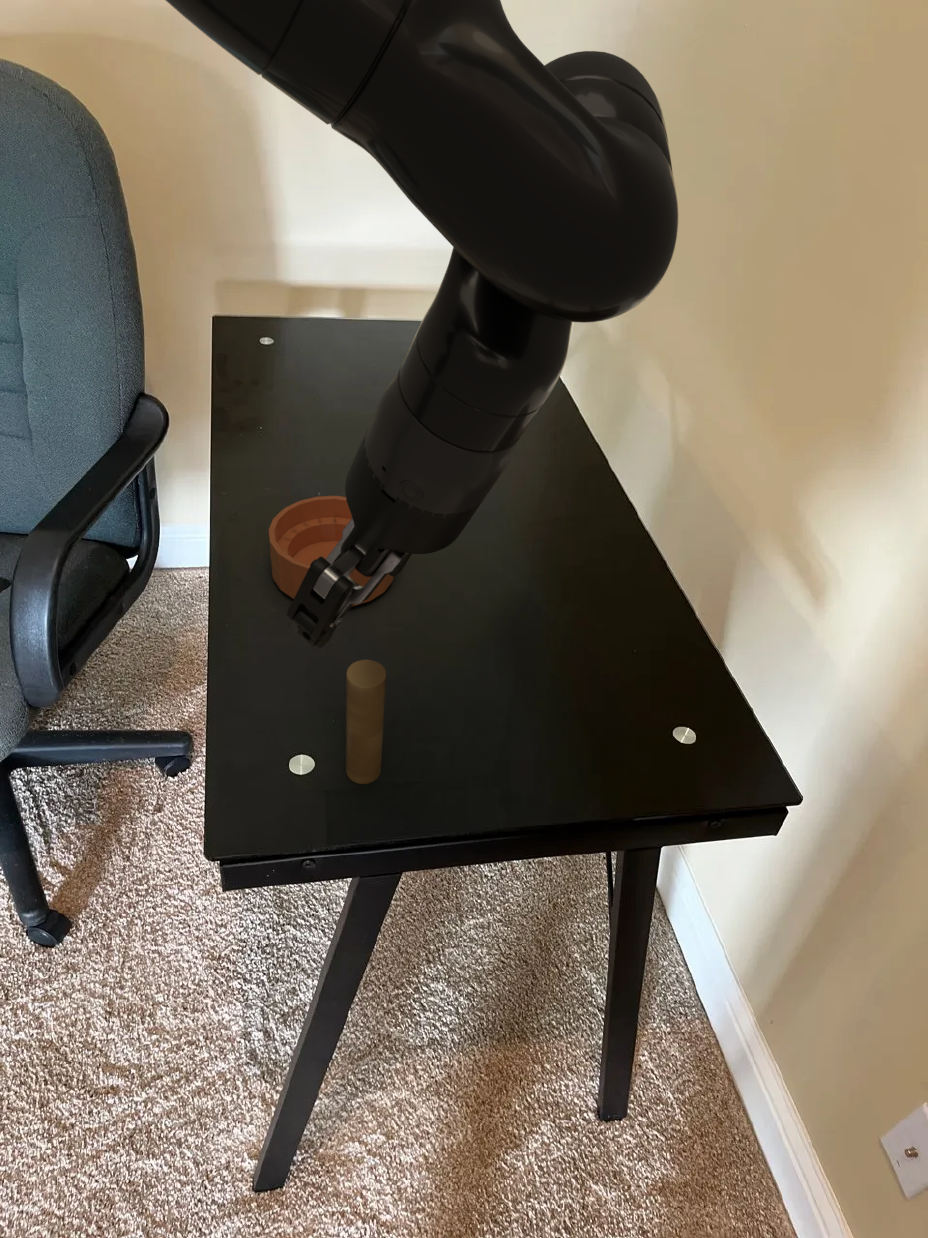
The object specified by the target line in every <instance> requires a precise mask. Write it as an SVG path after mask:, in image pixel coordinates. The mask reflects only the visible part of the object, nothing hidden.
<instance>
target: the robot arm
mask: <svg viewBox="0 0 928 1238" xmlns="http://www.w3.org/2000/svg"><path fill="white" fill-rule="evenodd" d="M164 1H165V2H166V3H167V4H169V5H170V6H171V7H172V8H173V9H174V10H175V11H176V12H178V13H179V14H180V15H181V16H182V17H183V18H185V19H186V20H187V21H188V22H190V23H191V24H192V25H193V26H194V27H196V28H197V29H198V30H199V31H200V32H201V33H203V34H204V35H205V36H206V37H207V38H209V39H210V40H211V41H213V43H216V45H218V46H219V47H221V48H222V49H223V50H224V51H225V52H227V53H228V54H230V56H232V57H233V58H234V59H236V60H237V61H238V62H240V63H241V64H243V65H244V66H245V67H247V68H248V69H249V70H250V71H252V72H253V73H255V74H256V75H257V76H261V78H262V79H264V81H266V82H268V83H269V84H271V85H272V86H273V87H274V88H276V89H277V90H279V92H281V93H282V94H284V95H285V96H287V97H288V98H289V99H291V100H292V101H293V102H295V103H296V104H298V105H300V106H301V107H302V108H304V109H305V110H306V111H308V112H309V113H311V114H312V115H313V116H315V117H316V118H317V119H319V120H320V121H322V122H323V123H324V124H326V125H330V127H331V129H332V130H333V131H335V132H337V133H338V134H340V135H341V136H342V137H344V138H345V139H347V140H349V141H351V142H352V143H354V144H355V145H357V146H358V147H360V148H361V149H362V150H364V151H365V152H366V153H367V154H369V155H370V156H371V158H373V159H374V160H375V161H376V162H377V163H378V165H379V166H380V167H381V168H382V169H383V170H384V171H385V173H386V174H387V175H388V177H390V178H391V180H392V181H393V182H394V183H395V185H396V186H397V187H398V188H399V190H400V191H401V192H402V193H403V194H404V196H405V197H406V198H407V199H408V200H409V202H410V203H411V204H412V205H413V206H414V207H415V208H416V209H417V210H418V211H419V212H420V213H421V214H422V215H423V217H424V218H425V219H426V220H427V221H428V222H429V223H430V224H431V225H432V226H433V227H434V228H435V229H436V230H437V232H439V234H441V235H442V237H443V238H444V239H445V240H446V241H447V242H448V243H449V244H450V245H451V246H452V250H451V254H450V257H449V261H448V265H447V267H446V270H445V272H444V274H443V277H442V280H441V282H440V284H439V287H438V290H437V291H436V294H435V295H434V298H433V301H432V302H431V304H430V305H429V306H428V309H427V311H426V312H425V314H424V316H423V318H422V320H421V322H420V324H419V326H418V328H417V331H416V333H415V335H414V337H413V339H412V341H411V343H410V346H409V348H408V350H407V352H406V353H405V357H404V359H403V361H402V363H401V366H400V368H399V370H397V372H396V374H395V376H394V377H393V379H392V380H391V381H390V382H389V384H388V386H387V387H386V389H385V391H384V392H383V394H382V396H381V398H380V400H379V402H378V404H377V406H376V409H375V411H374V413H373V415H372V418H371V420H370V422H369V424H368V426H367V429H366V431H365V434H364V435H363V438H362V439H361V442H360V445H359V447H358V449H357V451H356V453H355V456H354V458H353V460H352V462H351V464H350V467H349V469H348V471H347V474H346V477H345V481H344V482H345V483H344V493H345V494H344V495H345V497H346V500H347V504H348V507H349V510H350V512H351V515H352V519H351V520H350V521H349V523H348V524H347V525H346V527H345V528H344V529H343V532H342V538H341V540H340V541H339V542H338V544H337V545H336V546H335V547H334V549H333V550H332V551H331V553H330V554H329V555H328V557H327V558H326V559H325V558H323V557H322V556H320V557H319V558H318V559H315V560H314V561H313V562H312V563H311V564H310V568H309V569H308V571H307V573H306V575H305V577H304V579H303V581H302V583H301V585H300V587H299V589H298V591H297V593H296V595H295V597H294V599H293V598H292V602H291V603H290V605H289V607H288V609H287V611H286V614H285V616H286V617H287V618H288V619H290V620H291V621H293V622H294V623H295V624H296V625H297V627H296V628H297V634H298V635H299V636H301V637H302V638H303V639H304V640H305V641H306V642H307V643H309V644H310V645H311V646H312V647H313V648H314V647H316V648H319V649H322V648H323V647H324V646H325V645H326V644H327V643H328V642H329V641H330V640H331V639H332V637H333V635H334V633H335V631H336V629H337V627H338V626H339V625H340V624H341V623H342V622H343V618H344V617H345V615H346V614H347V613H348V612H349V610H350V609H351V608H352V607H353V606H352V605H353V604H359V605H361V604H360V603H362V602H364V601H365V600H367V599H368V598H369V597H370V595H371V594H372V593H373V592H374V590H375V589H376V588H377V587H378V586H379V584H380V583H381V582H382V581H383V579H384V578H385V577H386V576H387V574H389V575H391V576H393V577H394V578H395V577H397V575H399V574H400V573H401V572H402V571H403V569H404V568H405V566H406V565H407V563H408V561H409V559H410V558H411V557H412V555H426V554H433V553H436V552H439V551H443V550H444V549H446V548H448V547H449V546H450V545H452V544H453V543H454V542H455V541H456V540H457V539H458V538H459V536H460V535H461V534H462V532H463V531H464V529H465V528H466V526H467V525H468V523H469V522H470V521H471V519H472V518H473V516H474V515H475V513H476V512H477V510H478V509H479V508H480V506H481V505H482V503H483V501H484V500H485V499H486V497H487V496H488V494H489V493H490V492H491V490H492V489H493V487H494V486H495V484H496V483H497V481H498V480H499V478H500V477H501V475H502V474H503V473H504V471H505V469H506V467H507V466H508V464H509V462H510V460H511V458H512V455H513V454H514V451H515V449H516V447H517V445H518V443H519V441H520V439H521V438H522V436H523V435H524V433H525V432H526V430H527V429H528V427H529V426H530V424H531V423H532V422H533V420H534V419H535V417H536V415H538V413H539V411H540V410H541V408H542V406H543V405H544V404H545V402H546V400H547V399H548V398H549V396H550V395H551V393H552V391H553V390H554V388H555V386H556V385H557V382H558V381H559V379H560V376H561V374H562V372H563V369H564V366H565V363H566V361H567V357H568V353H569V347H570V340H571V333H572V332H571V331H572V328H573V327H572V326H573V323H583V324H585V323H586V324H587V323H596V322H603V321H607V320H611V319H614V318H618V317H619V316H621V315H624V314H626V313H627V312H630V311H632V310H633V309H634V308H636V307H638V306H639V305H640V304H641V303H643V302H644V301H646V299H647V298H648V297H649V296H651V294H652V293H653V292H654V291H655V290H656V288H658V286H659V285H660V283H661V281H662V280H663V279H664V277H665V275H666V273H667V271H668V269H669V267H670V264H671V262H672V259H673V256H674V254H675V249H676V245H677V239H678V231H679V202H678V195H677V187H676V184H675V183H676V182H675V178H674V172H673V166H672V159H671V152H670V145H669V138H668V131H667V127H666V122H665V117H664V113H663V109H662V107H661V104H660V102H659V99H658V96H657V95H656V93H655V91H654V89H653V88H652V86H651V84H650V83H649V81H648V80H647V78H646V77H645V76H644V74H642V73H641V71H640V70H639V69H638V68H636V67H635V66H634V65H633V64H632V63H630V62H629V61H627V60H626V59H624V58H622V57H620V56H618V55H616V54H613V53H610V52H606V51H597V50H583V51H576V52H572V53H567V54H564V55H562V56H559V57H557V58H554V59H553V60H551V61H549V62H546V63H545V64H543V62H542V61H541V60H540V59H539V58H538V57H537V56H536V55H535V54H534V53H533V52H532V51H531V50H530V49H529V48H528V47H527V46H526V45H525V43H524V42H523V41H522V40H521V38H520V37H519V36H518V35H517V33H516V32H515V30H514V29H513V27H512V25H511V24H510V21H509V19H508V16H507V15H506V12H505V10H504V8H503V5H502V1H501V0H164ZM355 569H356V570H357V571H358V572H360V573H361V574H362V575H364V576H366V577H371V576H372V577H371V578H370V579H369V581H368V582H367V583H366V584H365V586H364V587H362V586H360V585H359V584H357V583H356V582H355V581H354V580H353V579H352V578H350V577H349V575H350V574H351V573H352V572H353V571H354V570H355ZM362 604H363V603H362ZM351 606H352V607H351Z"/></svg>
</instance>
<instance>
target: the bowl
mask: <svg viewBox="0 0 928 1238" xmlns="http://www.w3.org/2000/svg"><path fill="white" fill-rule="evenodd" d="M351 519H352V515H351V512H350V510H349V507H348V504H347V500H346V496H341V495H321V496H313V497H310V498H305V499H301V500H298V501H296V502H294V503H292V504H290V505H288V506H286V507H284V508H283V509H281V510H280V511H279V512H278V513H277V514H276V515H275V516H274V517H273V518H272V520H271V523H270V524H269V525H270V526H269V528H268V541H269V555H270V567H271V577H272V580H273V581H274V582H275V584H276V585H277V587H278V588H279V590H280V591H282V593H284V594H286V596H289V597H290V598H291V599H292V600H293V599H294V597H295V595H296V593H297V591H298V589H299V587H300V585H301V583H302V581H303V579H304V577H305V575H306V573H307V571H308V569H309V568H310V564H311V563H312V562H313V561H314V560H315V559H318V558H319V557H320V556H322V557H323V558H325V559H326V558H327V557H328V555H329V554H330V553H331V551H332V550H333V549H334V547H335V546H336V545H337V544H338V542H339V541H340V540H341V538H342V532H343V529H344V528H345V527H346V525H347V524H348V523H349V521H350V520H351ZM349 577H350V578H352V579H353V580H354V581H355V582H356V583H357V584H359V585H360V586H362V587H364V586H365V584H366V583H367V582H368V581H369V579H370V578H371V577H372V576H371V577H366V576H364V575H362V574H361V573H360V572H358V571H357V570H356V569H355V570H354V571H353V572H352V573H351V574H350V575H349ZM394 578H395V577H393V576H391V575H389V574H387V576H386V577H385V578H384V579H383V581H382V582H381V583H380V584H379V586H378V587H377V588H376V589H375V590H374V592H373V593H372V594H371V595H370V597H369V598H368V599H367V600H365V601H364V602H362V603H360V604H353V605H352V606H351V608H352V607H355V606H358V605H362V604H365V603H368V602H371V601H373V600H374V599H376V598H377V597H379V596H380V595H382V594H384V593H385V592H386V591H387V589H388V588H389V587H390V586H391V584H392V583H393V581H394Z"/></svg>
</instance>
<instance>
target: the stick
mask: <svg viewBox="0 0 928 1238" xmlns="http://www.w3.org/2000/svg"><path fill="white" fill-rule="evenodd" d="M345 676H346V678H345V679H346V683H345V687H346V690H345V691H346V693H345V695H346V697H345V699H346V700H345V710H346V711H345V773H346V776H347V778H348V779H349V780H350V781H351V782H353V783H355V784H358V785H367V784H372V783H373V782H375V781H377V779H379V777H380V776H381V773H382V762H383V761H382V760H383V759H382V758H383V742H384V741H383V739H384V724H385V723H384V719H385V703H386V702H385V701H386V685H387V684H386V681H387V671H386V668H385V667H384V666H383V665H382V664H381V663H380V662H378V661H376V660H373V659H360V660H357V661H354V662H353V663H351V664H350V665H349V666H348V668H347V670H346V675H345Z"/></svg>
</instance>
